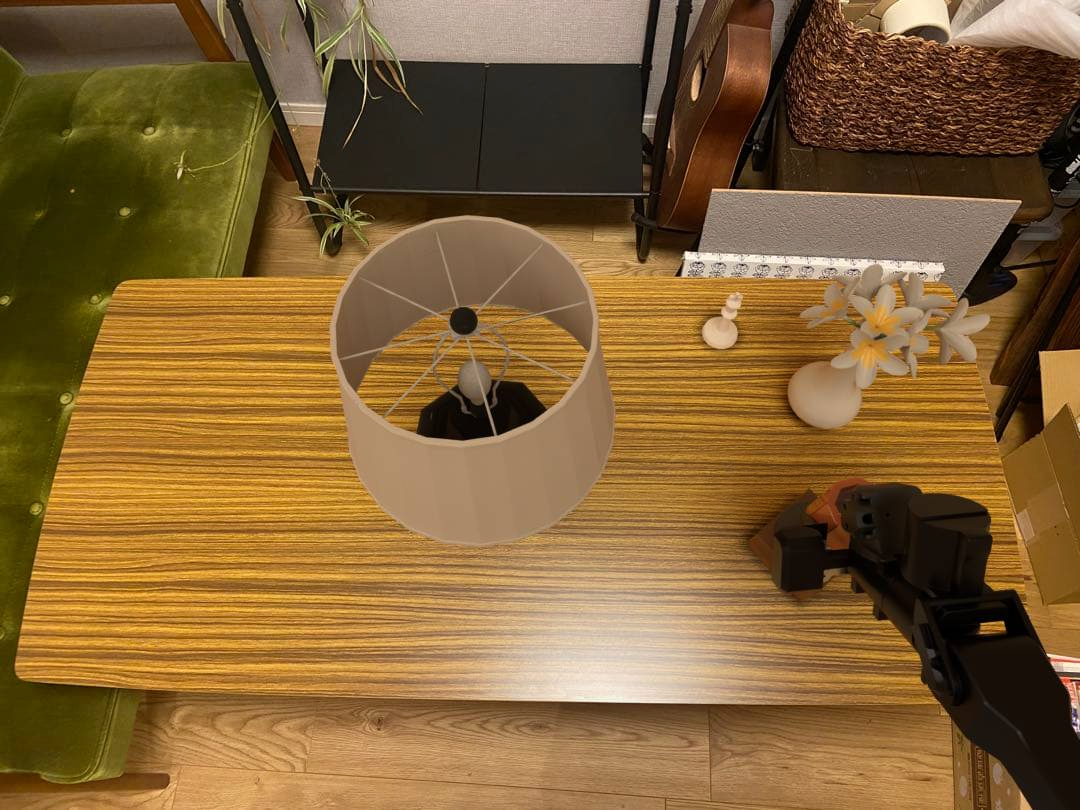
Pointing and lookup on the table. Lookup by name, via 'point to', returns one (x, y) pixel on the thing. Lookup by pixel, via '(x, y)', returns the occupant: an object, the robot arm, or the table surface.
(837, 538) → the terracotta octagonal pot
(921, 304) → the flower vase
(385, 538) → the table surface
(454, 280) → the table lamp
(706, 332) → the chess piece
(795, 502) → the coaster stand
